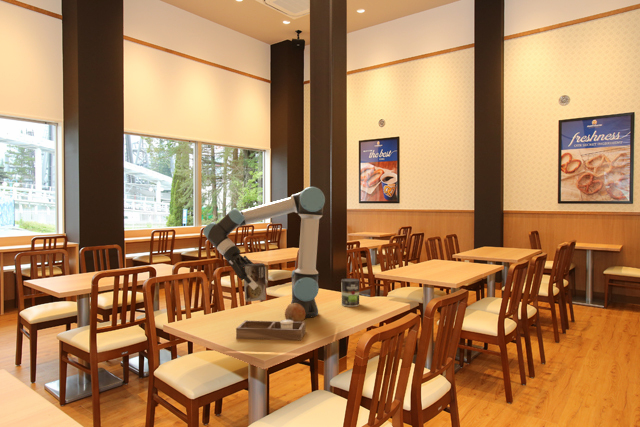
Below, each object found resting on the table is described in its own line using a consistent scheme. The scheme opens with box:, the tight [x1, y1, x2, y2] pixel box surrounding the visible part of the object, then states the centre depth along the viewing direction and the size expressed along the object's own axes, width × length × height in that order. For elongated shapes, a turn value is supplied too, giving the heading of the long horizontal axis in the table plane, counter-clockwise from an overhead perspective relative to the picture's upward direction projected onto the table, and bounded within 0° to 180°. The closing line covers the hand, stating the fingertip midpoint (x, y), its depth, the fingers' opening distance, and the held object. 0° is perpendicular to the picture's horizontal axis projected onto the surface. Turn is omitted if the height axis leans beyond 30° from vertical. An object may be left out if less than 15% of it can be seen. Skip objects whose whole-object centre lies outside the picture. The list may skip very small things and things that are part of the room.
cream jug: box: [280, 319, 293, 329], centre depth 173 cm, size 6×6×6 cm
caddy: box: [235, 320, 306, 342], centre depth 173 cm, size 12×27×5 cm, turn 83°
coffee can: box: [340, 278, 360, 308], centre depth 231 cm, size 10×10×14 cm
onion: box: [284, 303, 306, 322], centre depth 193 cm, size 10×10×10 cm
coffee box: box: [243, 262, 267, 303], centre depth 187 cm, size 9×6×16 cm
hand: (260, 285), depth 186 cm, fingers closed on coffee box, 10 cm apart
